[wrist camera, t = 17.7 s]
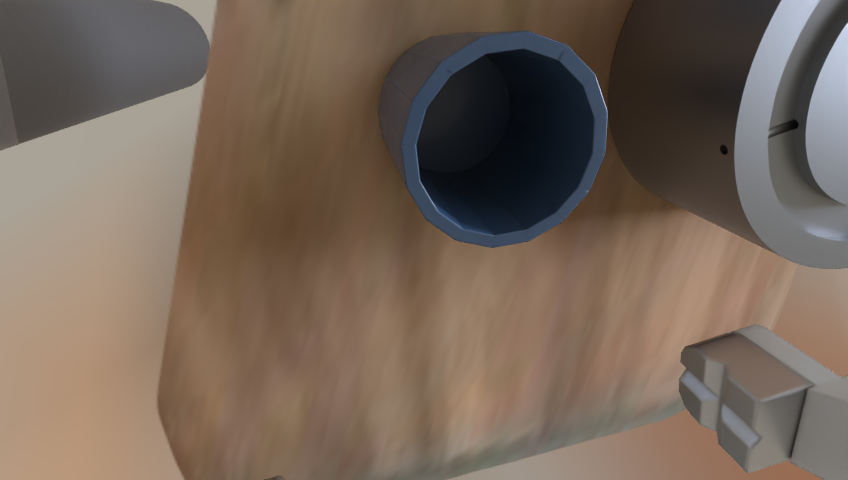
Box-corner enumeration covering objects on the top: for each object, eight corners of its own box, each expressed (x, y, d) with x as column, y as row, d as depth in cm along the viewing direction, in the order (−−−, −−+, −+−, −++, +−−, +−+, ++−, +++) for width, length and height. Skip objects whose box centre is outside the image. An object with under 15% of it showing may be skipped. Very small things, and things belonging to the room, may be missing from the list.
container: (591, -50, 33) (738, -100, 21) (900, -156, 33) (1213, -263, 22) (623, 240, 44) (731, 317, 32) (855, 155, 44) (1045, 198, 33)
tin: (389, 189, 37) (416, 262, 25) (368, 44, 33) (387, 47, 20) (517, 168, 39) (600, 228, 27) (515, 25, 34) (615, 19, 22)
